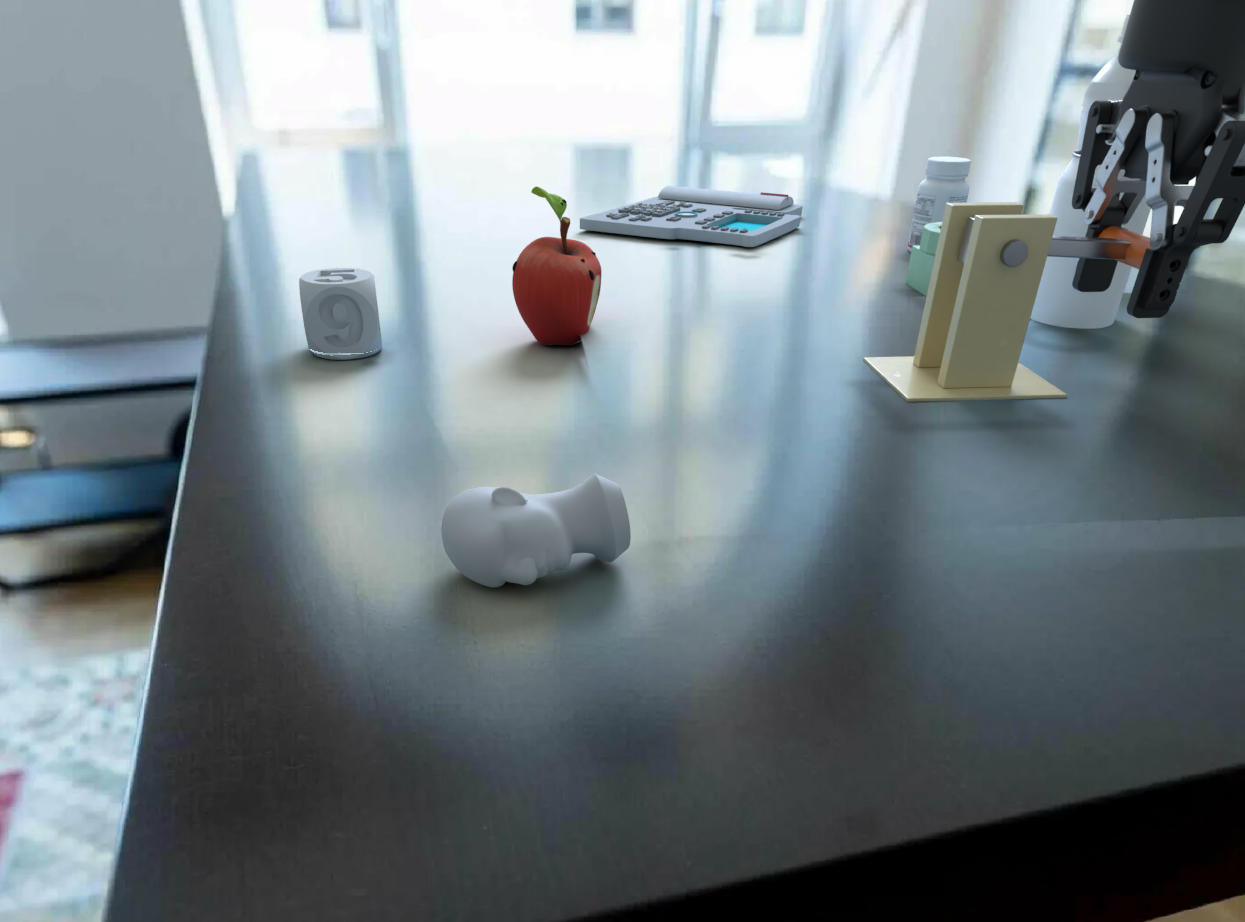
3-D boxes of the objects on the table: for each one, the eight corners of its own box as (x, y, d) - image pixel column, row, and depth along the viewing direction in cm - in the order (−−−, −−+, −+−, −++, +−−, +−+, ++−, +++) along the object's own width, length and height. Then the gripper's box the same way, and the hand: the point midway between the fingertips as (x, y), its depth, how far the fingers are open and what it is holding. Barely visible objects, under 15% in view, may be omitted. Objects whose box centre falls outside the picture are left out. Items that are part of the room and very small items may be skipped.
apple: (625, 342, 68) (629, 192, 62) (558, 363, 64) (556, 204, 58) (553, 321, 73) (551, 179, 67) (486, 339, 69) (477, 189, 63)
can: (1075, 347, 68) (1131, 163, 61) (1001, 325, 73) (1046, 152, 66) (1127, 334, 71) (1186, 157, 64) (1053, 314, 76) (1101, 146, 69)
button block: (998, 280, 85) (1012, 221, 82) (1038, 302, 79) (1055, 238, 76) (902, 282, 84) (913, 221, 81) (935, 303, 78) (948, 239, 75)
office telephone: (672, 179, 117) (826, 193, 109) (670, 202, 118) (823, 217, 110) (578, 204, 100) (753, 223, 92) (578, 231, 102) (750, 251, 93)
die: (381, 337, 69) (372, 266, 66) (383, 358, 65) (374, 282, 62) (311, 341, 68) (300, 268, 65) (309, 362, 64) (297, 286, 61)
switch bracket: (1002, 371, 63) (1048, 197, 57) (1061, 413, 57) (1121, 221, 51) (860, 375, 63) (891, 198, 56) (903, 417, 56) (944, 223, 50)
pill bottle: (953, 248, 96) (973, 156, 91) (957, 258, 92) (978, 163, 87) (905, 246, 97) (922, 154, 92) (907, 255, 93) (925, 161, 88)
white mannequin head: (444, 619, 40) (449, 533, 43) (632, 611, 40) (623, 526, 43) (431, 548, 36) (437, 460, 39) (637, 540, 36) (627, 454, 39)
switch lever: (1114, 261, 59) (1129, 220, 57) (1166, 282, 54) (1183, 238, 53) (944, 253, 57) (955, 211, 56) (984, 274, 53) (997, 229, 52)
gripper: (1406, -43, 42) (1250, 335, 52) (1205, -33, 54) (1109, 274, 64) (1251, -46, 42) (1123, 338, 51) (1082, -35, 53) (1004, 276, 63)
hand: (1116, 301), depth 57 cm, fingers closed on switch lever, 5 cm apart
